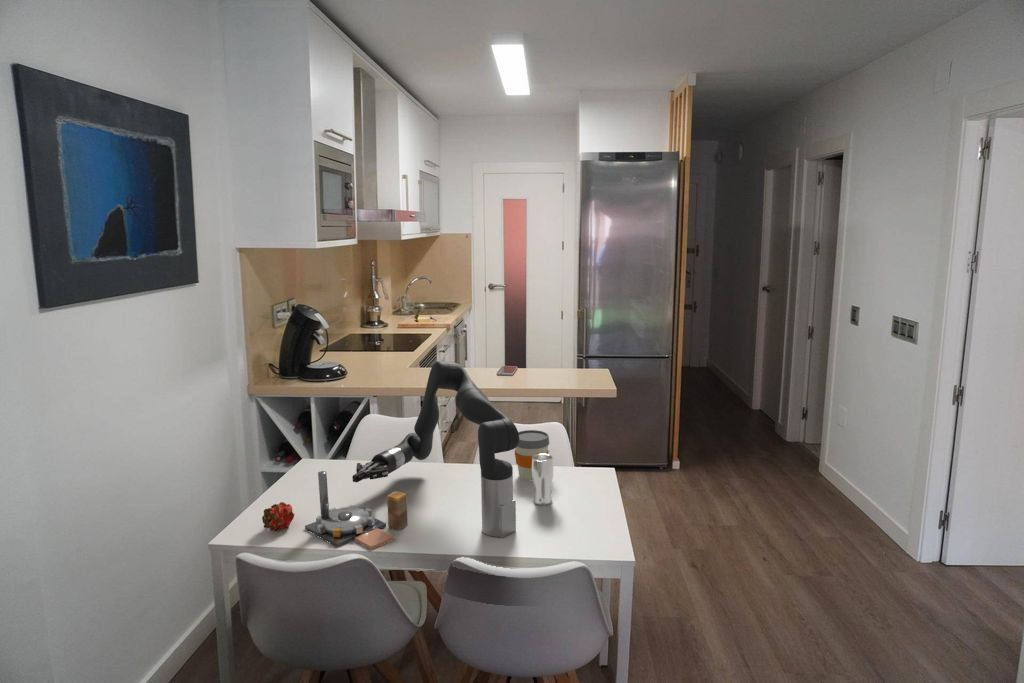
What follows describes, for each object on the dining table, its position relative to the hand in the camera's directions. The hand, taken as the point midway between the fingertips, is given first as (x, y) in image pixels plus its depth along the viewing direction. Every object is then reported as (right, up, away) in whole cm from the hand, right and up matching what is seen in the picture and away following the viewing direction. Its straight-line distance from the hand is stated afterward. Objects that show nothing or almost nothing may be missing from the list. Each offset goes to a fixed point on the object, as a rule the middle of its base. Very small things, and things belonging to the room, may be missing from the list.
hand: (354, 479), depth 214 cm
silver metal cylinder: (+59, -9, +6) cm, 60 cm away
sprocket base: (0, -12, -11) cm, 16 cm away
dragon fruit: (-20, -13, -10) cm, 26 cm away
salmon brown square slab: (+10, -14, -19) cm, 25 cm away
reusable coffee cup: (+56, -5, +27) cm, 63 cm away
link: (+15, -12, -10) cm, 22 cm away
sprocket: (0, -11, -11) cm, 16 cm away
